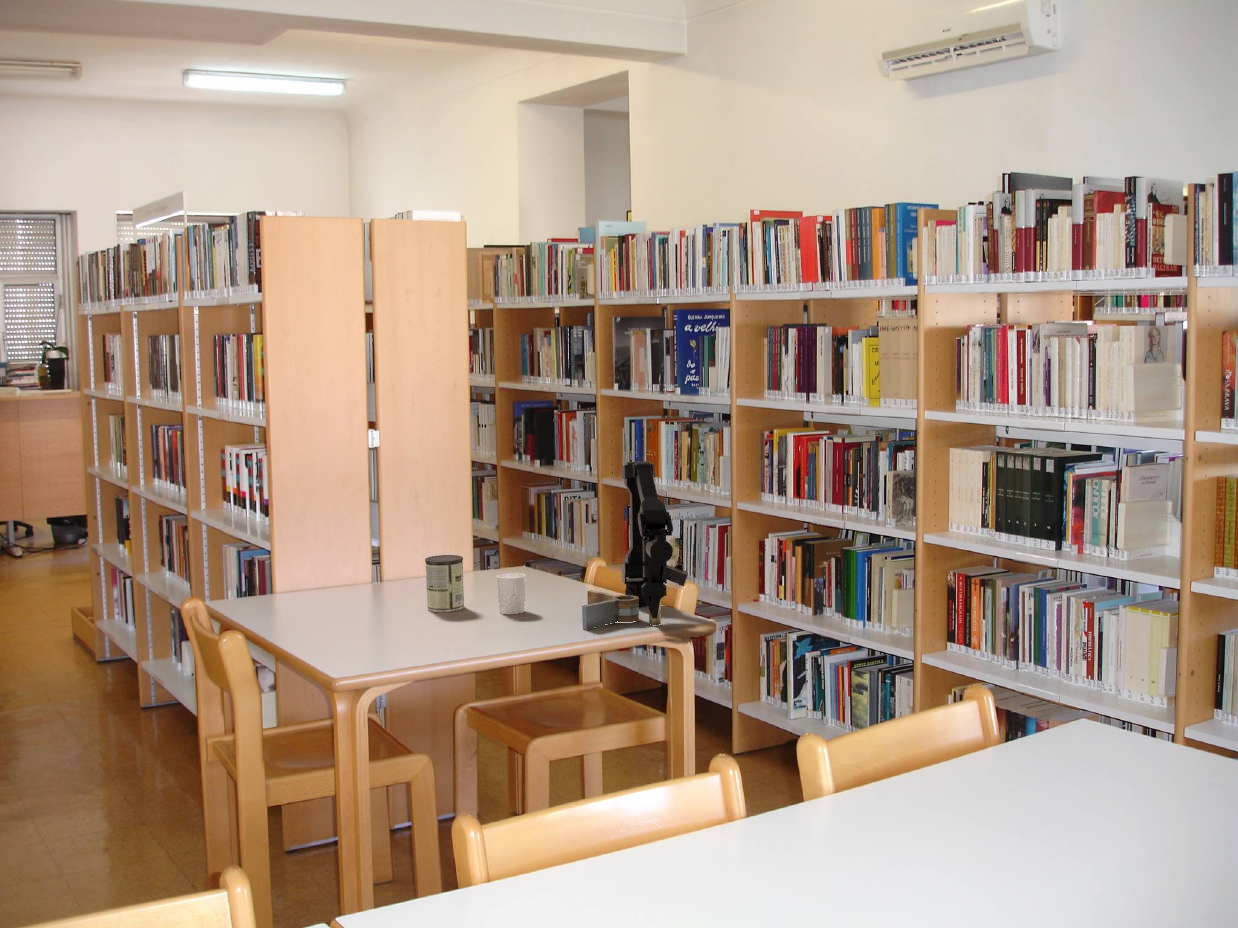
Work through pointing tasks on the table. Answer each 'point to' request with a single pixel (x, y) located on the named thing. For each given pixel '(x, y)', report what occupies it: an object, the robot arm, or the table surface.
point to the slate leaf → (604, 613)
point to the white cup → (511, 592)
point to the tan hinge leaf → (622, 602)
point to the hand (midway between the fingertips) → (654, 616)
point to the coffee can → (444, 583)
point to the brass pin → (658, 619)
